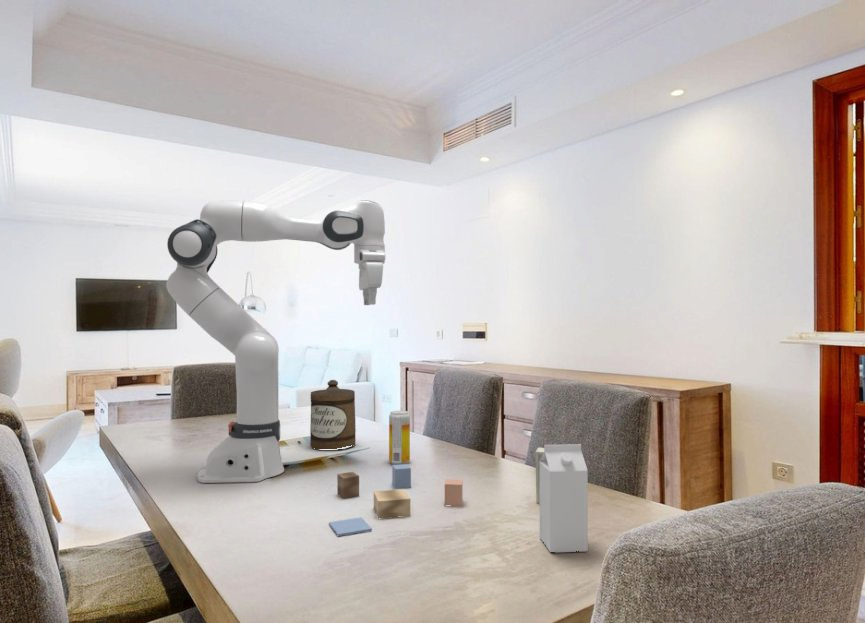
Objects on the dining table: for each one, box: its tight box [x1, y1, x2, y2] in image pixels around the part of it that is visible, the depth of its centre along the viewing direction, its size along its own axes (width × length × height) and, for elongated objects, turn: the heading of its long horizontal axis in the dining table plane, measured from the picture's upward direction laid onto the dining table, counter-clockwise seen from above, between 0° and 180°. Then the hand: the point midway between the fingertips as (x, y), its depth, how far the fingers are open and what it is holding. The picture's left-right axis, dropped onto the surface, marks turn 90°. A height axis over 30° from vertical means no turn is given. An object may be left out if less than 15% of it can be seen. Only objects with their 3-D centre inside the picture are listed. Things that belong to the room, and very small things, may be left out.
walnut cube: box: [336, 471, 360, 500], centre depth 135 cm, size 4×4×5 cm
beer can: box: [388, 410, 411, 465], centre depth 165 cm, size 6×6×15 cm
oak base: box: [373, 488, 411, 520], centre depth 124 cm, size 7×7×4 cm
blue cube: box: [391, 463, 412, 490], centre depth 143 cm, size 4×4×5 cm
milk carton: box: [539, 443, 589, 553], centre depth 106 cm, size 7×7×19 cm
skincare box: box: [534, 447, 544, 504], centre depth 131 cm, size 6×4×12 cm
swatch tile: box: [328, 517, 373, 537], centre depth 115 cm, size 7×7×1 cm
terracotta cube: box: [444, 478, 464, 507], centre depth 130 cm, size 4×4×5 cm
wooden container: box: [309, 379, 357, 450], centre depth 187 cm, size 15×15×22 cm
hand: (369, 304), depth 162 cm, fingers open, 8 cm apart
